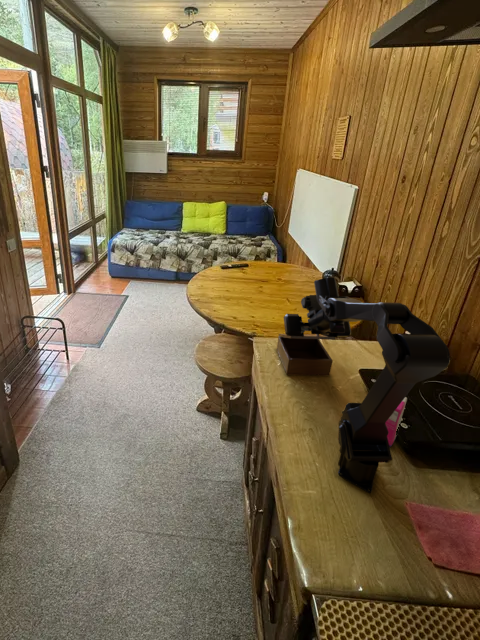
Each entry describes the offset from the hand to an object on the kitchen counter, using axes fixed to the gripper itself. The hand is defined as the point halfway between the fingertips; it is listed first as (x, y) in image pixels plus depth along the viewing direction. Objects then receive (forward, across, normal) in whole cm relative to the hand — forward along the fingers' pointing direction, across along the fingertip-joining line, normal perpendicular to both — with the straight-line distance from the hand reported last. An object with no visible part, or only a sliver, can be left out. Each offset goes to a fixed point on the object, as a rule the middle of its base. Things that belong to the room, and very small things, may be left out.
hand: (306, 331), depth 99 cm
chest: (+9, 0, +8) cm, 12 cm away
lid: (+2, 0, +2) cm, 3 cm away
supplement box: (-10, -11, +28) cm, 32 cm away
